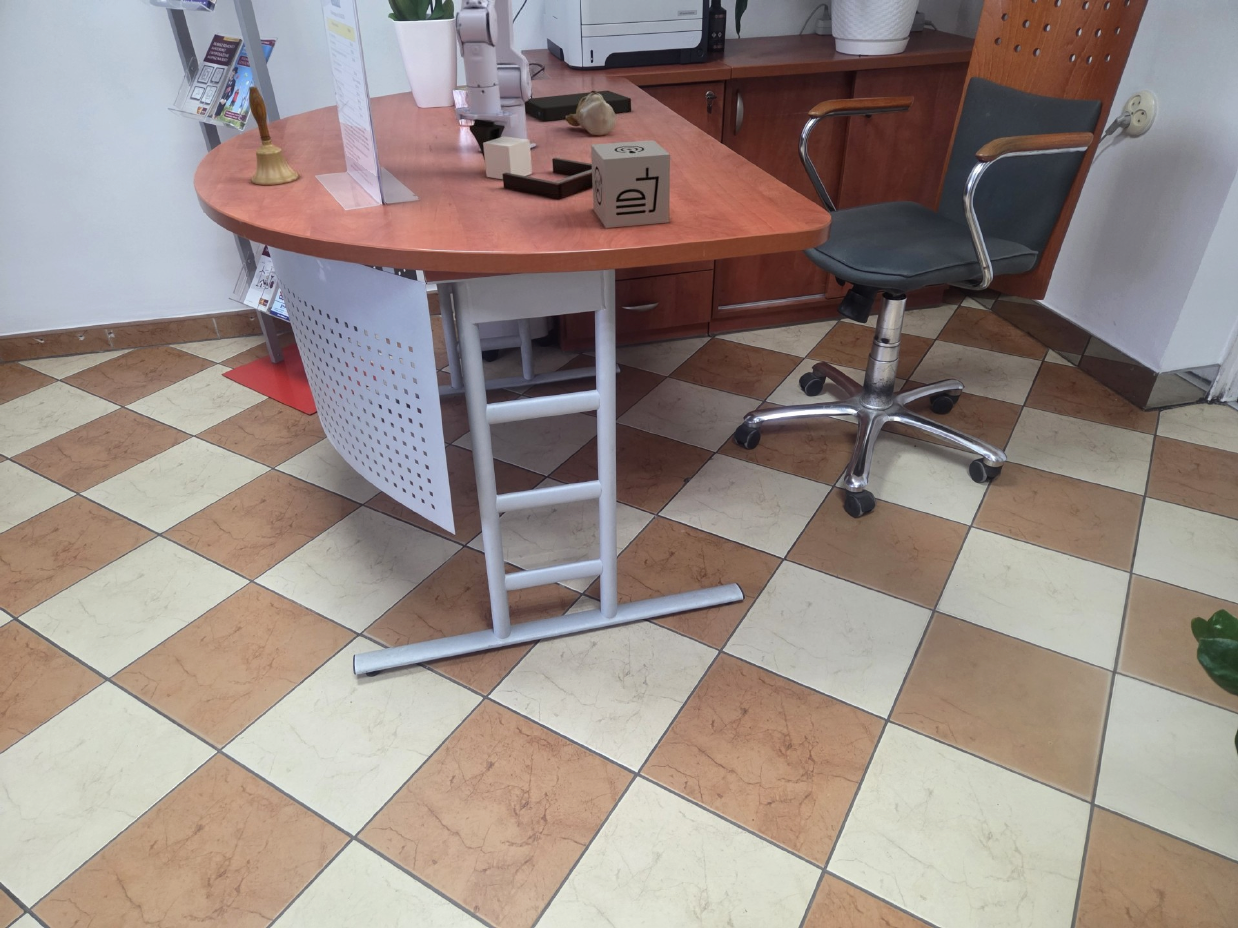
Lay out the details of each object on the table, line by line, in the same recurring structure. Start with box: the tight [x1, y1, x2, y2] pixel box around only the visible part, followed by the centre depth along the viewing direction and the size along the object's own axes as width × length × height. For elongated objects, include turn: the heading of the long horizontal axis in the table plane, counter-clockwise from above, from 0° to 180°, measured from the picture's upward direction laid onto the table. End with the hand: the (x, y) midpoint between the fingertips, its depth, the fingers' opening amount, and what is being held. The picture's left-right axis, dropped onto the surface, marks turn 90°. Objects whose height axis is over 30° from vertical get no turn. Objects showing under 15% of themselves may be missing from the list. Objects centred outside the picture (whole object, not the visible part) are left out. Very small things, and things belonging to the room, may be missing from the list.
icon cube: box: [590, 139, 671, 229], centre depth 124 cm, size 10×10×10 cm
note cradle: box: [502, 157, 593, 200], centre depth 142 cm, size 13×14×3 cm
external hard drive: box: [525, 90, 632, 123], centre depth 199 cm, size 14×23×3 cm, turn 115°
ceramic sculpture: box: [564, 90, 617, 137], centre depth 178 cm, size 11×9×15 cm
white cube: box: [483, 136, 533, 180], centre depth 148 cm, size 6×6×6 cm
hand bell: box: [248, 85, 299, 186], centre depth 146 cm, size 8×8×16 cm
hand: (491, 164), depth 151 cm, fingers closed
